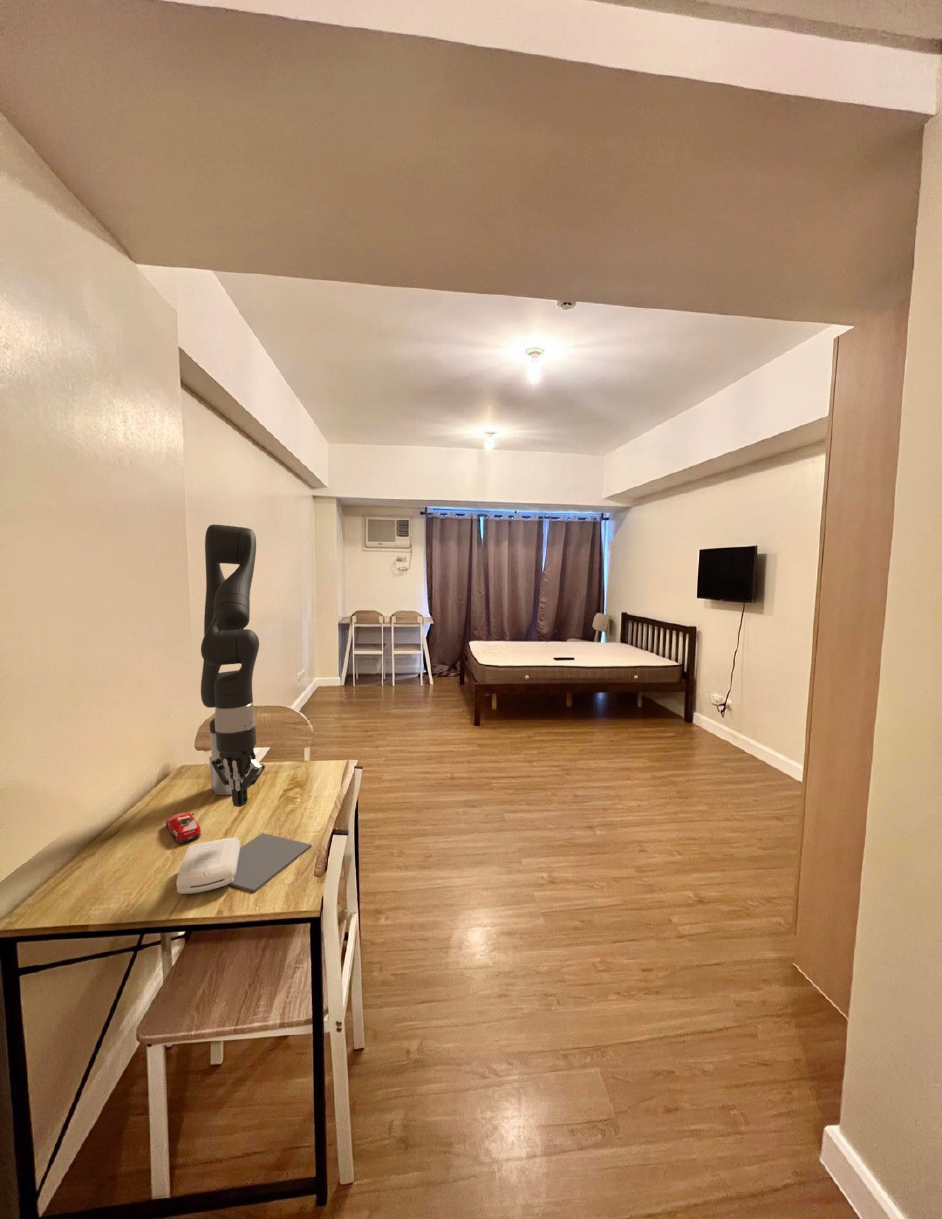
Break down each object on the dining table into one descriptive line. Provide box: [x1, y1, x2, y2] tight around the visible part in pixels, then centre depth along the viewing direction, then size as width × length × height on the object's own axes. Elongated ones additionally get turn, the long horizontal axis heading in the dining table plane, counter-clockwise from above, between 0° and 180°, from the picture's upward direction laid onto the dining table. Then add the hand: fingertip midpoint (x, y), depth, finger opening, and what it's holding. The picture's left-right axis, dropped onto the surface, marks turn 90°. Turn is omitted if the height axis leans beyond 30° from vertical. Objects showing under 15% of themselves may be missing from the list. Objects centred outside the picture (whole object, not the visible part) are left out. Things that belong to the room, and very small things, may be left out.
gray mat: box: [227, 832, 312, 893], centre depth 101 cm, size 14×16×1 cm
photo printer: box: [175, 837, 242, 895], centre depth 95 cm, size 10×4×12 cm
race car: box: [165, 812, 202, 844], centre depth 113 cm, size 13×5×4 cm, turn 42°
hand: (240, 805), depth 101 cm, fingers closed
